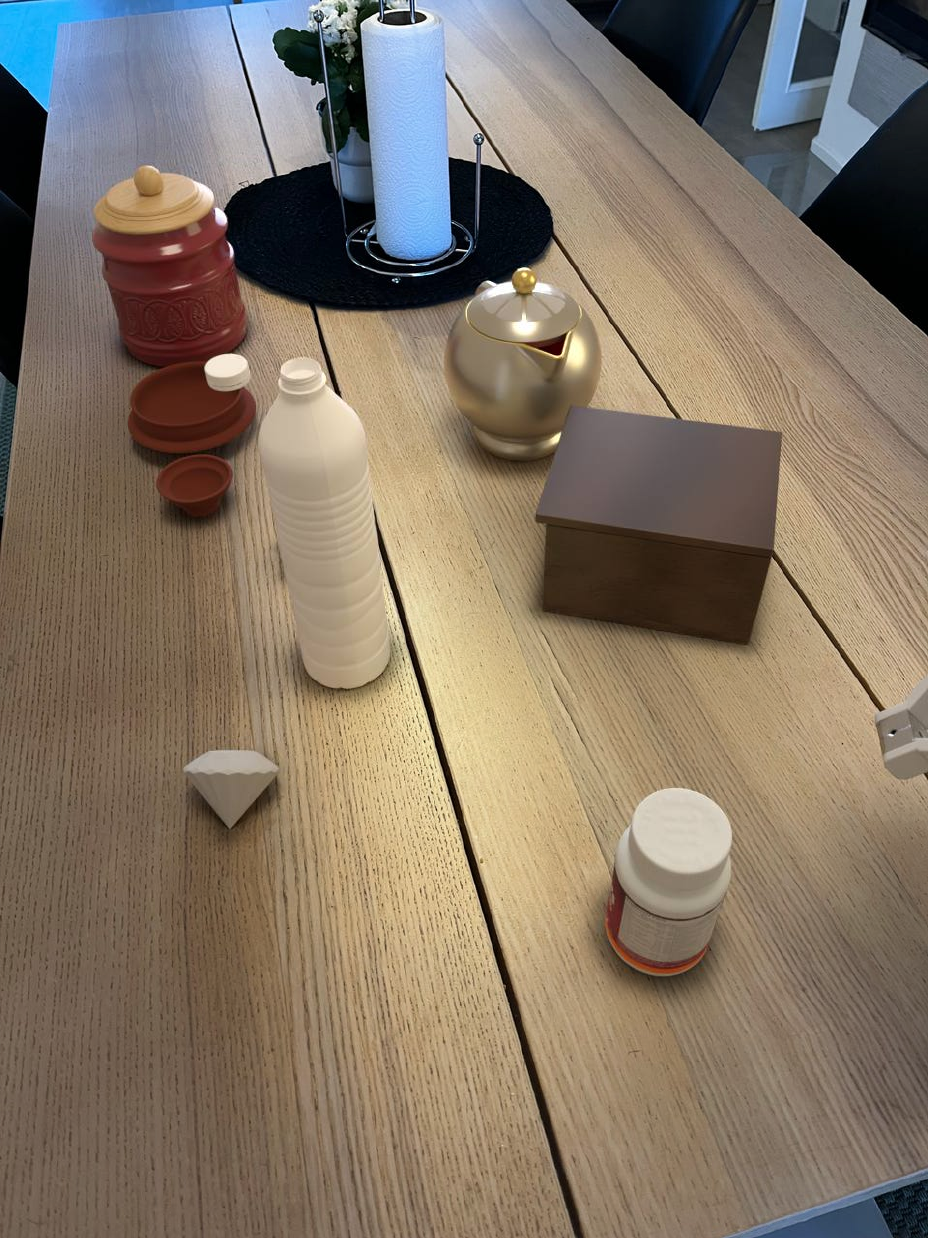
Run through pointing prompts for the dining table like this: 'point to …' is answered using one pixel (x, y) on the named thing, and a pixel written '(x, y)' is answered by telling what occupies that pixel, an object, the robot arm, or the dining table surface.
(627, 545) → the chest
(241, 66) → the dining table surface
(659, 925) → the pill bottle
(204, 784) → the gemstone
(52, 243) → the dining table surface
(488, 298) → the teapot
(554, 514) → the lid
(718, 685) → the dining table surface
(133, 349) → the kitchen canister
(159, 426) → the pottery
